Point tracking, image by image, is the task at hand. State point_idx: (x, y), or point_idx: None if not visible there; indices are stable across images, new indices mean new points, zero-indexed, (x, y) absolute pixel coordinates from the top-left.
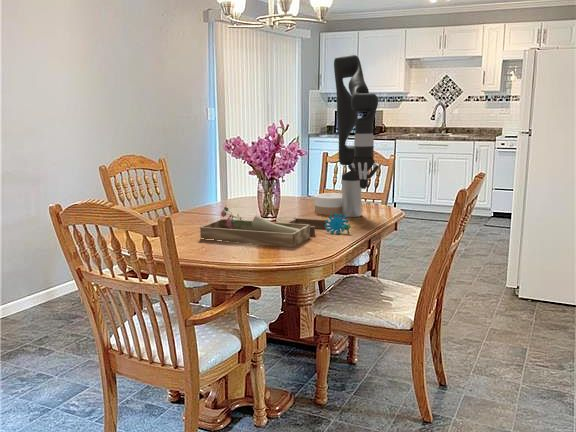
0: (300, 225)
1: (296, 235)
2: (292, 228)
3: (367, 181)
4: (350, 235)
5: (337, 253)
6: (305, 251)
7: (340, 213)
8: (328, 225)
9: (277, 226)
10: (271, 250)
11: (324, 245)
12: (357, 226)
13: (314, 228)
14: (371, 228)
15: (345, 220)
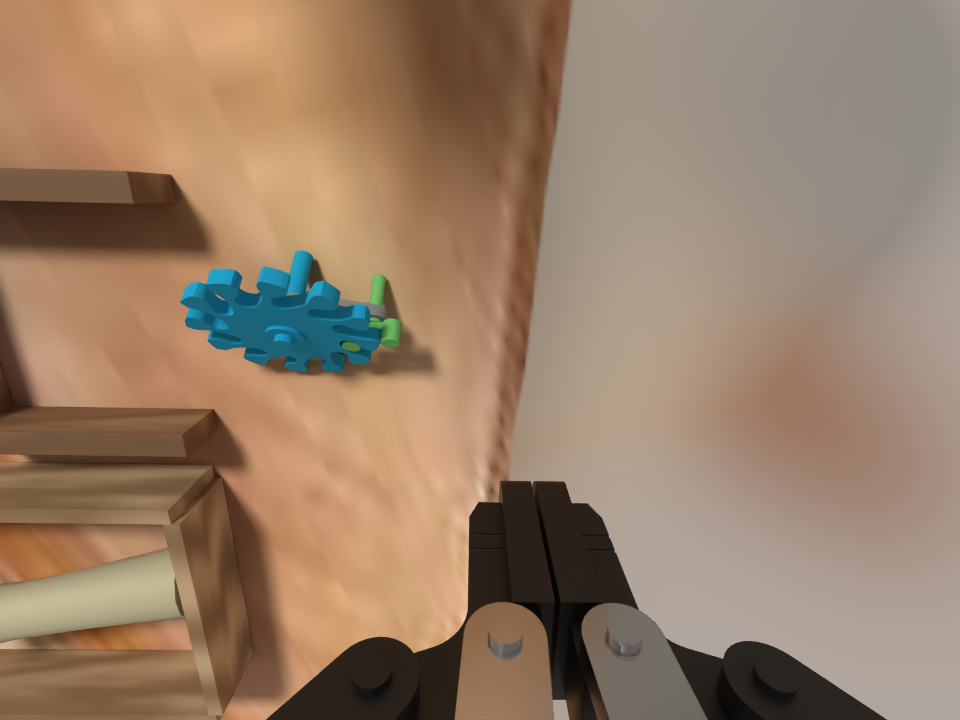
0: (116, 519)
1: (226, 681)
2: (133, 617)
3: (624, 594)
4: (424, 365)
5: None
6: None
7: (263, 281)
8: (239, 344)
9: (36, 635)
10: None
11: (371, 598)
12: (377, 38)
13: (191, 436)
14: (506, 90)
15: (346, 321)
